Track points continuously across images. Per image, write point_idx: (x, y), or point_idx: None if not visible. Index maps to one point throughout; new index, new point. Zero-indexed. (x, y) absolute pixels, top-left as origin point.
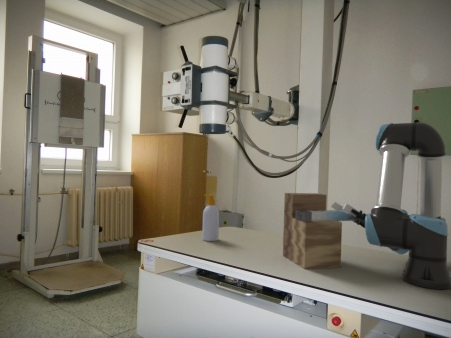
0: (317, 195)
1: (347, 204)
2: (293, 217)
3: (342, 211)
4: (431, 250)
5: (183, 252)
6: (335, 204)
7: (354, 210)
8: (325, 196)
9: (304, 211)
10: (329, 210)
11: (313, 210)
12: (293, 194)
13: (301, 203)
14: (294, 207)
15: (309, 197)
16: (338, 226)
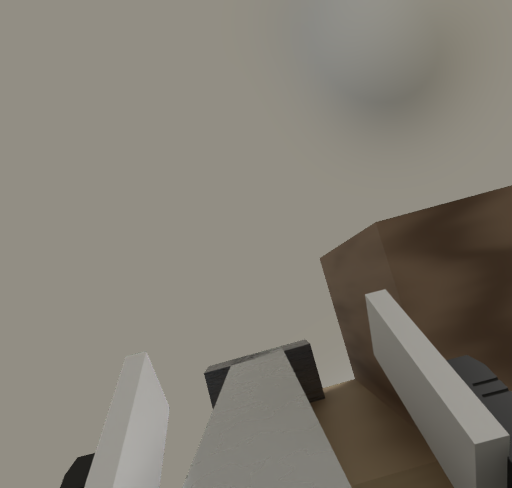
0: (354, 243)
1: (124, 371)
2: (356, 377)
3: (204, 438)
4: None
5: None
6: (378, 331)
7: (71, 482)
8: (377, 240)
9: (228, 361)
10: (266, 388)
11: (266, 363)
12: (320, 258)
13: (344, 303)
14: (340, 324)
15: (344, 265)
16: None
